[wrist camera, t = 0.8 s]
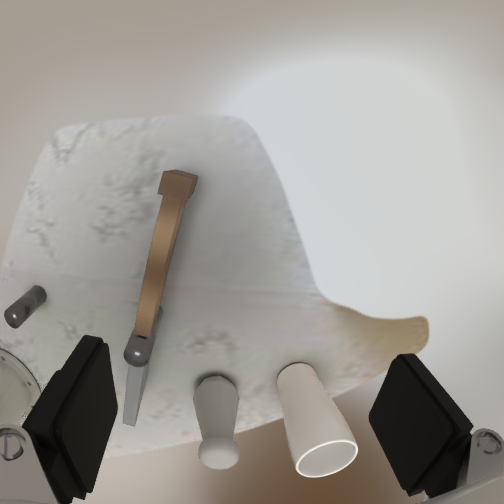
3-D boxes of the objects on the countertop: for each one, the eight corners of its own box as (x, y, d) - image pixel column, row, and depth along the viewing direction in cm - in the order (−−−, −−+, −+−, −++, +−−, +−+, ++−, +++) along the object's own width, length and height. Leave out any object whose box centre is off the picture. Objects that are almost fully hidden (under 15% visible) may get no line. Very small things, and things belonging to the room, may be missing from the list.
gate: (163, 306, 34) (152, 341, 27) (143, 300, 34) (127, 334, 27) (198, 175, 31) (192, 179, 24) (175, 169, 31) (163, 171, 23)
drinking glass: (260, 379, 40) (281, 468, 25) (298, 347, 39) (336, 431, 25) (292, 401, 41) (320, 483, 27) (329, 372, 41) (370, 450, 26)
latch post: (46, 305, 34) (20, 331, 27) (31, 299, 33) (4, 324, 26) (46, 288, 33) (19, 312, 26) (32, 283, 33) (3, 305, 26)
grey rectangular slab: (145, 385, 38) (134, 426, 30) (134, 382, 38) (122, 423, 30) (156, 324, 36) (144, 363, 28) (144, 321, 36) (129, 358, 28)
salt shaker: (206, 407, 40) (207, 480, 28) (186, 379, 38) (180, 455, 26) (244, 393, 40) (256, 467, 28) (226, 364, 38) (232, 440, 26)
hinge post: (160, 322, 36) (147, 370, 27) (141, 317, 35) (122, 363, 26) (164, 305, 35) (150, 350, 26) (144, 299, 35) (125, 342, 26)
